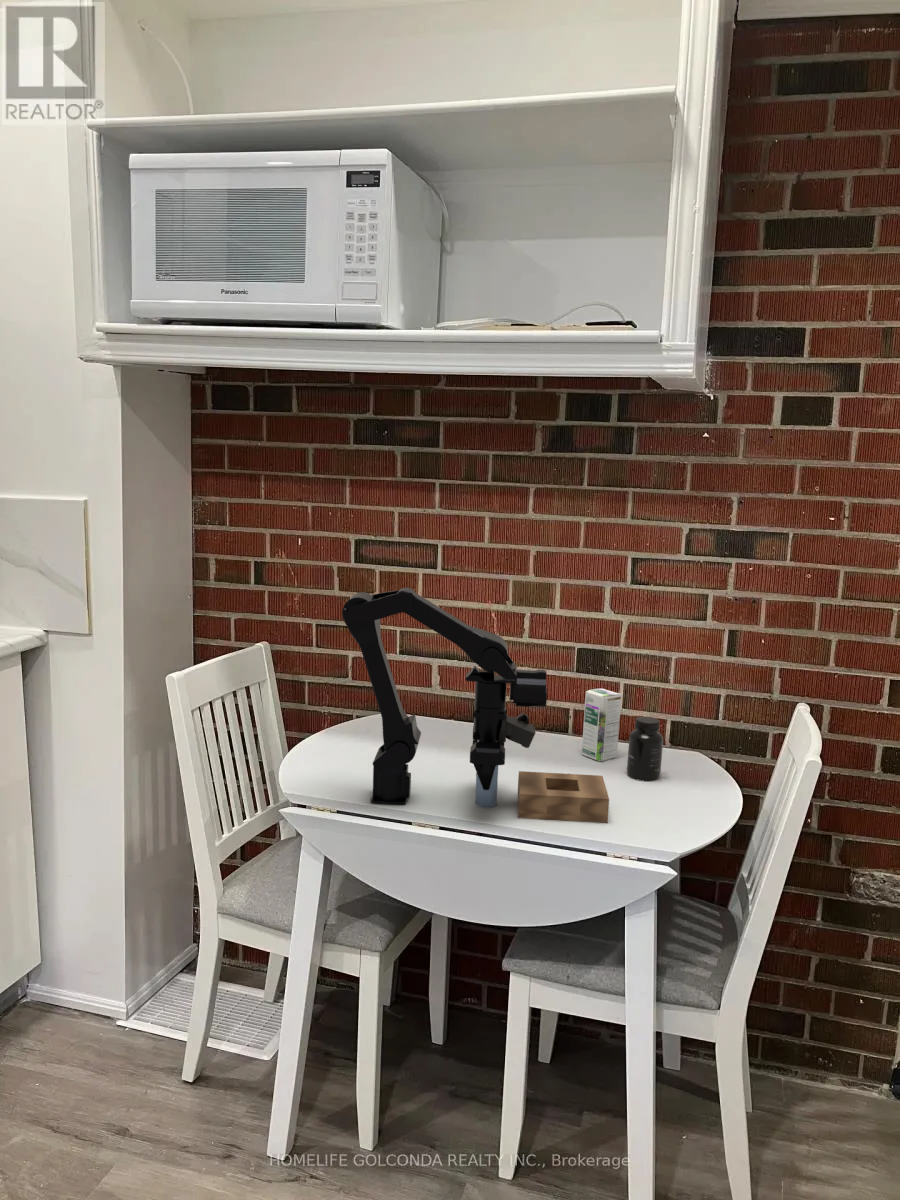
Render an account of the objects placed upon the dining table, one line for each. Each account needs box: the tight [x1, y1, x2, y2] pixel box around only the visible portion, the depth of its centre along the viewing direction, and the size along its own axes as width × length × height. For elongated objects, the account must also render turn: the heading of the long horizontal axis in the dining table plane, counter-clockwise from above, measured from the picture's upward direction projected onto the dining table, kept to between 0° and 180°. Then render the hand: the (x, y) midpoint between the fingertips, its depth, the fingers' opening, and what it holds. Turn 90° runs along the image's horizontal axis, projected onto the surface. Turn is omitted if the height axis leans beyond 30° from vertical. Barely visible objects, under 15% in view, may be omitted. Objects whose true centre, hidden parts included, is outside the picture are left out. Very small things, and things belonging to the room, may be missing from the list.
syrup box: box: [581, 688, 623, 763], centre depth 205 cm, size 6×6×14 cm
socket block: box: [517, 770, 610, 824], centre depth 176 cm, size 16×12×4 cm
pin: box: [474, 765, 499, 809], centre depth 177 cm, size 4×4×10 cm
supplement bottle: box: [626, 716, 664, 782], centre depth 194 cm, size 7×7×12 cm
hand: (486, 785), depth 177 cm, fingers closed on pin, 4 cm apart
